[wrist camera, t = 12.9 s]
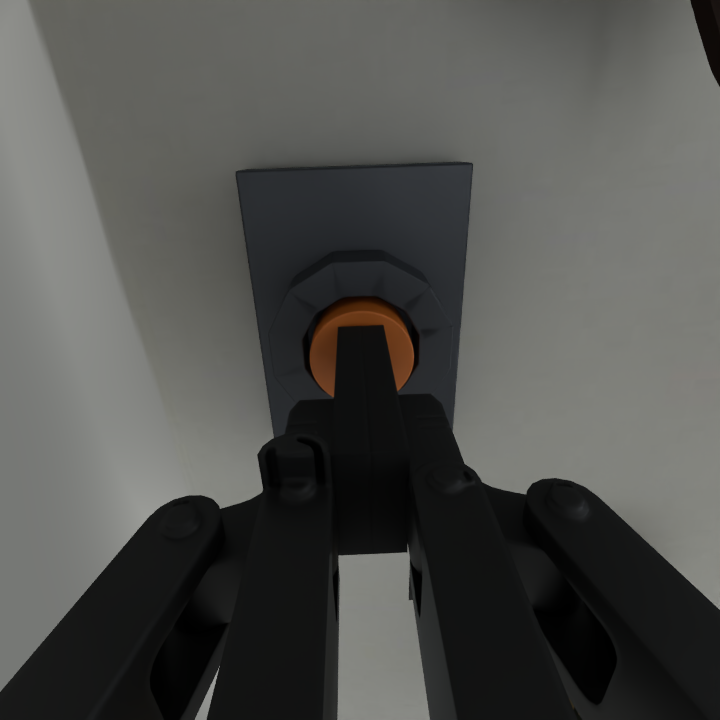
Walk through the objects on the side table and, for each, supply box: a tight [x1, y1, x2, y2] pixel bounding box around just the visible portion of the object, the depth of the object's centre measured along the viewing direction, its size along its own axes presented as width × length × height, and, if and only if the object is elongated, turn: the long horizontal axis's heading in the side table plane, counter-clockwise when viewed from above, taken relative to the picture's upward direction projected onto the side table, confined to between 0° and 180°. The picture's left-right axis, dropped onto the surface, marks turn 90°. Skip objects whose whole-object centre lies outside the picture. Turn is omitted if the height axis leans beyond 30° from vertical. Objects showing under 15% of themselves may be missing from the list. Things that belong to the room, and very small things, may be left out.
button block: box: [236, 162, 473, 438], centre depth 17 cm, size 12×8×4 cm, turn 2°
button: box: [310, 296, 414, 397], centre depth 15 cm, size 4×4×2 cm
